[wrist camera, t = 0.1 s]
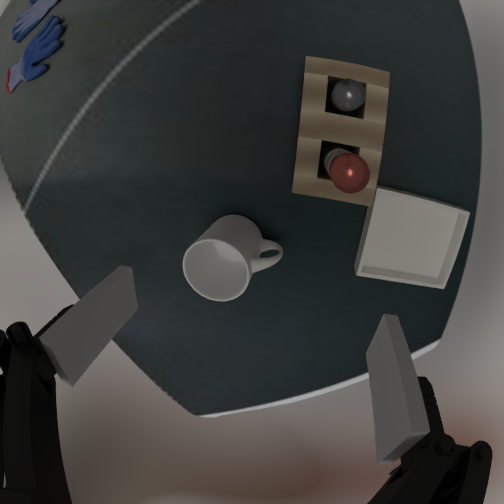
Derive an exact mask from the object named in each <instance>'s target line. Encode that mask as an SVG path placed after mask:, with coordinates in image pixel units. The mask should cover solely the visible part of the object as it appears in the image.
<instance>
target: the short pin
mask: <svg viewBox="0 0 504 504" xmlns="http://www.w3.org/2000/svg"><path fill="white" fill-rule="evenodd" d="M365 98H366V93H365V90H364V88H363V86H362V85H361V84H360V83H359V82H358V81H356V80H353V79H342V80H340V81H339V82H338V83H337V84H336V85H335V87H334V89H333V91H332V93H331V95H330V97H329V99H328V105H329V107H330V109H331V110H332V111H333V112H334V113H336V114H339V115H344V114H347V113H349V112H351V111H352V110H354V109H356V108H358V107H360V106H361V105H362V104H363V103H364V101H365Z"/></svg>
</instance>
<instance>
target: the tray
mask: <svg viewBox="0 0 504 504" xmlns="http://www.w3.org/2000/svg"><path fill="white" fill-rule="evenodd" d="M469 214H470V212H468V211H467V210H465V209H463V208H462V207H459V206H456V205H453V204H450V203H446V202H443V201H439V200H436V199H432V198H429V197H425V196H421V195H417V194H414V193H410V192H406V191H402V190H397V189H393V188H389V187H385V186H380V185H376V190H375V195H374V200H373V205H372V207H371V206H368V208H367V213H366V218H365V222H364V227H363V231H362V235H361V240H360V244H359V248H358V252H357V256H356V259H355V263H354V269H355V272H356V275H358V276H364V277H370V278H377V279H383V280H389V281H396V282H402V283H409V284H415V285H421V286H428V287H434V288H441V289H444V288H445V285H446V283H447V280H448V278H449V275H450V273H451V270H452V267H453V265H454V262H455V259H456V256H457V254H458V251H459V248H460V245H461V242H462V238H463V235H464V232H465V228H466V225H467V221H468V218H469Z"/></svg>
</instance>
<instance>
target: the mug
mask: <svg viewBox="0 0 504 504" xmlns="http://www.w3.org/2000/svg"><path fill="white" fill-rule="evenodd" d="M272 249H276V250H279V251H280V253H279V254H278V255H276V256H273V257H267V258H259V257H260V254H261V252H264V251H267V250H272ZM282 255H283V249H282V247H281V246H280V245H279V244H277V243H276V242H273V241H270V240H266V239H262V235H261V232H260V230H259V228H258V227H257V226H256V224H255V223H254V222H252V221H251V220H250V219H248V218H246V217H244V216H241V215H227V216H224V217H221V218H220V219H218V220H217V221H216V222H214V223H213V224H212V225H211V226H210V227H209V228H208V229H207V230H206V231H205V232H204V233H203V234H202V235H201V236H200V237H199V238H198V239H197V240H196V241H195V242H194V243H193V244H192V245H191V246H190V247H189V248H188V250H187V251H186V253H185V255H184V259H183V271H184V275H185V277H186V279H187V281H188V283H189V284H190V286H191V287H192V288H193V289H194V290H195V291H196V292H197V293H199V294H200V295H202V296H203V297H206V298H208V299H211V300H215V301H229V300H232V299H235V298H237V297H238V296H240V295H241V294H242V293H243V292H244V291H245V290H246V288H247V286H248V284H249V281H250V279H251V276H252V274H253V273H254V272H257V271H260V270H263V269H266V268H268V267H270V266H272V265H274V264H275V263H277V262H278V261H279V260H280V259H281V257H282Z"/></svg>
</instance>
